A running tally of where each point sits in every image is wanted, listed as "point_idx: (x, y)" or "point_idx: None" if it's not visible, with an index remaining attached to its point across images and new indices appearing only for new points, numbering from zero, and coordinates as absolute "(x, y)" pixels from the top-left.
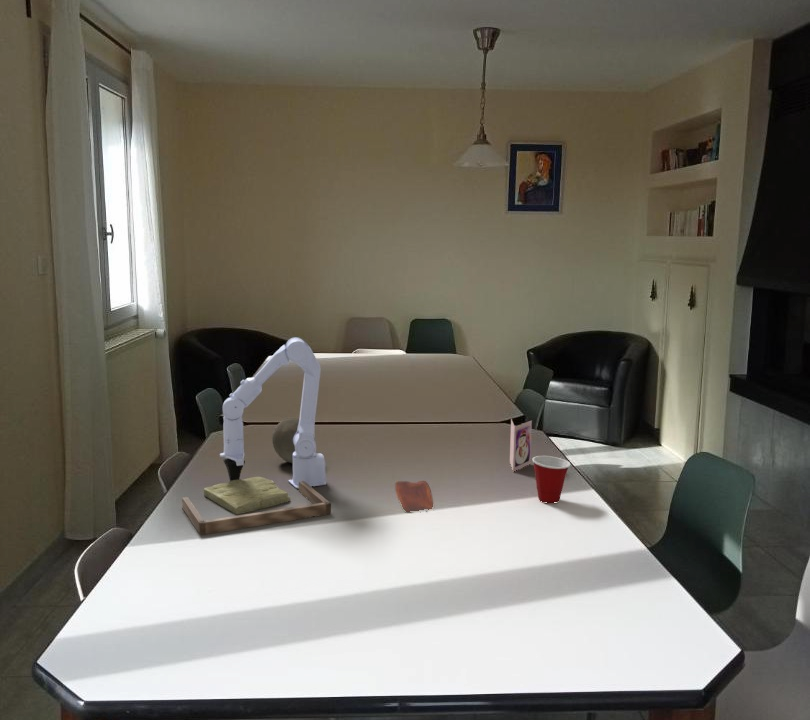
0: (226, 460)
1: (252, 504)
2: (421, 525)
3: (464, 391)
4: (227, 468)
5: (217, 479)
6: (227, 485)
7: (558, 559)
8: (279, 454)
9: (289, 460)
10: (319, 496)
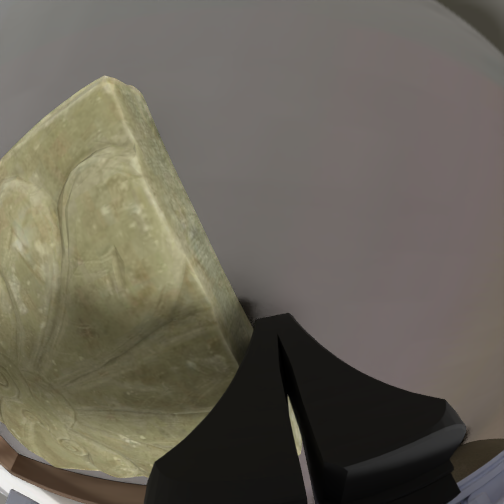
0: (376, 478)
1: None
2: (28, 490)
3: None
4: (309, 392)
5: (466, 214)
6: (84, 295)
7: (5, 490)
8: (466, 462)
9: None
10: (39, 485)
